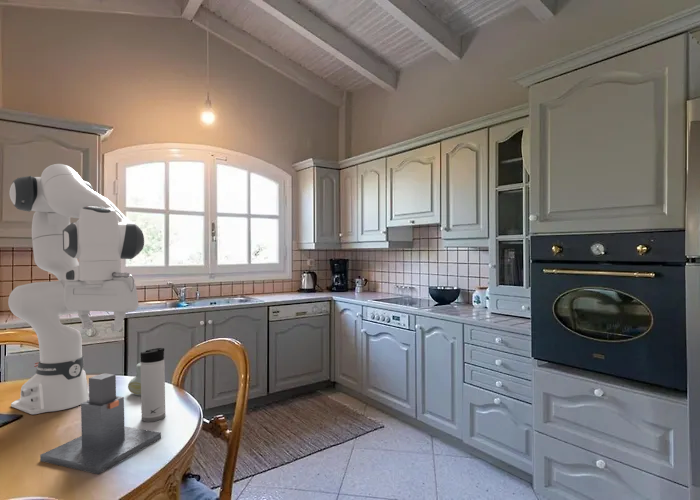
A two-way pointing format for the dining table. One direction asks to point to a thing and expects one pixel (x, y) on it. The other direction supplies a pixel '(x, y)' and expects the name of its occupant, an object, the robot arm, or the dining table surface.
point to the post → (102, 388)
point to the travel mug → (152, 385)
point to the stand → (101, 439)
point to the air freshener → (136, 382)
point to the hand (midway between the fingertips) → (101, 329)
